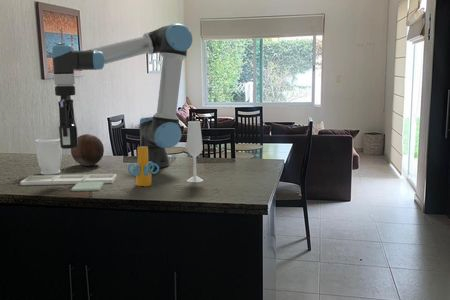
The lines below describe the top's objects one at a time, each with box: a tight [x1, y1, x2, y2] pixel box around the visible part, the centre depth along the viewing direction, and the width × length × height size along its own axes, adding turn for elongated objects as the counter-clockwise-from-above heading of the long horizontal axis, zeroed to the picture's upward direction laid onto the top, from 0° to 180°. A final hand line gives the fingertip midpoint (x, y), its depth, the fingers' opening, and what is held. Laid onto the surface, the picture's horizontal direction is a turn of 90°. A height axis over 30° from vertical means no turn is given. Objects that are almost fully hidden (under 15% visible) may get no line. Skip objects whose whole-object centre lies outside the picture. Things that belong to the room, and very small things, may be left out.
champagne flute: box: [185, 120, 204, 183], centre depth 186 cm, size 7×7×24 cm
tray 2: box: [83, 173, 118, 184], centre depth 188 cm, size 11×11×1 cm
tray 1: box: [19, 174, 59, 186], centre depth 186 cm, size 11×11×1 cm
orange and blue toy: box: [127, 145, 160, 187], centre depth 179 cm, size 12×10×15 cm
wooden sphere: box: [70, 133, 105, 167], centre depth 219 cm, size 15×15×15 cm
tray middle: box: [51, 174, 88, 186], centre depth 187 cm, size 11×11×1 cm
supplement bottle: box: [58, 118, 79, 150], centre depth 184 cm, size 7×7×12 cm
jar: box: [35, 137, 63, 175], centre depth 202 cm, size 11×10×15 cm
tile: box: [70, 182, 105, 192], centre depth 176 cm, size 10×10×1 cm
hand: (69, 143), depth 185 cm, fingers closed on supplement bottle, 7 cm apart
